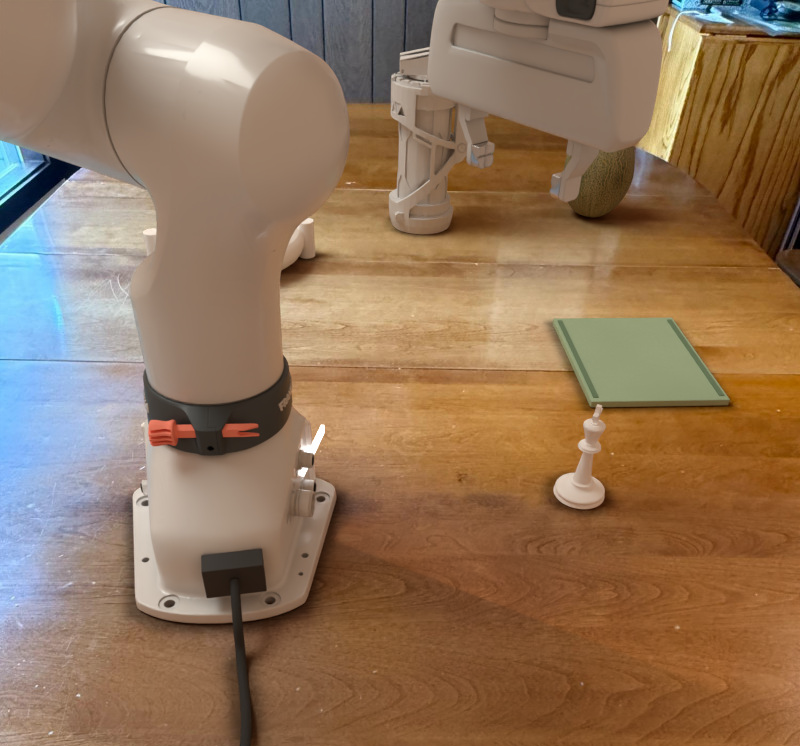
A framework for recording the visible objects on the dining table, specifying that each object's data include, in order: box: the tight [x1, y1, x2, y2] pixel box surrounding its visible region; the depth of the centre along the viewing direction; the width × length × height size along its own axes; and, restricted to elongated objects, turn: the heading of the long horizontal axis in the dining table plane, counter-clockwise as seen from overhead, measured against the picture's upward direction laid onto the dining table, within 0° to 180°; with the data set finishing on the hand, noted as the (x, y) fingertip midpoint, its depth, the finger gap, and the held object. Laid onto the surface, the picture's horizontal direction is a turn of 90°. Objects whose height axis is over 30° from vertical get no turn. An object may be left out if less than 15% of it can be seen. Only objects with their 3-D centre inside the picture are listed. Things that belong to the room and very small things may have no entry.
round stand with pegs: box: [142, 217, 316, 271], centre depth 111 cm, size 24×24×7 cm
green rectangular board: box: [551, 317, 731, 408], centre depth 94 cm, size 20×16×1 cm
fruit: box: [563, 145, 636, 218], centre depth 126 cm, size 11×11×15 cm
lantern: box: [388, 46, 468, 235], centre depth 118 cm, size 13×10×25 cm
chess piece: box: [552, 404, 607, 510], centre depth 72 cm, size 5×5×10 cm
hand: (519, 181), depth 63 cm, fingers open, 8 cm apart
